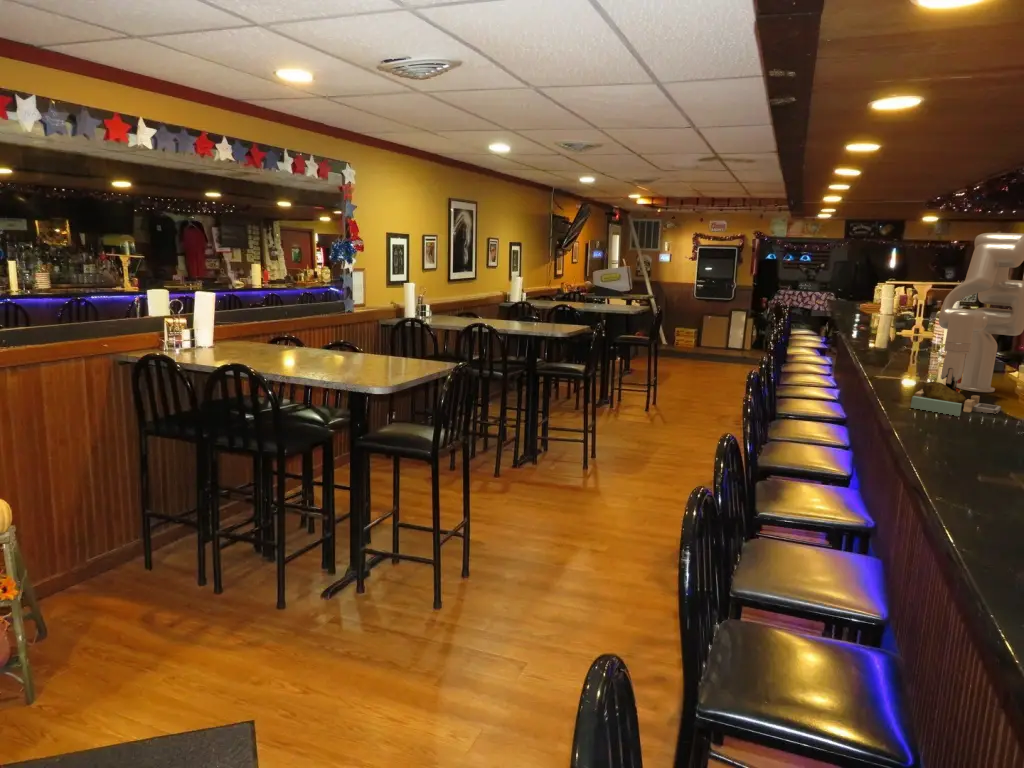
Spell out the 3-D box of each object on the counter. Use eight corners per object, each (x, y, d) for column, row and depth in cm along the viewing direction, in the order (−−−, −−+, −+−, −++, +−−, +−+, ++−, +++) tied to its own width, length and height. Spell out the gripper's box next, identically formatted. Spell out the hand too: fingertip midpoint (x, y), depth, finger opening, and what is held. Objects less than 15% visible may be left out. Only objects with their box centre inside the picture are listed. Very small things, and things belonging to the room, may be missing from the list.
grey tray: (978, 407, 238) (978, 402, 238) (1000, 410, 234) (1001, 406, 234) (972, 411, 232) (973, 406, 231) (995, 414, 228) (996, 410, 227)
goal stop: (911, 407, 234) (913, 396, 233) (959, 415, 225) (961, 403, 224) (910, 408, 233) (912, 396, 232) (958, 416, 224) (960, 404, 223)
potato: (962, 411, 232) (966, 387, 230) (918, 404, 240) (922, 381, 238) (965, 406, 238) (969, 384, 237) (922, 400, 246) (926, 378, 244)
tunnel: (922, 397, 251) (924, 387, 250) (978, 406, 240) (979, 396, 239) (913, 403, 241) (914, 393, 240) (970, 412, 230) (971, 402, 229)
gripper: (949, 343, 247) (941, 393, 251) (939, 348, 236) (931, 400, 240) (974, 346, 242) (965, 397, 246) (965, 351, 231) (956, 404, 235)
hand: (948, 398), depth 243 cm, fingers closed
